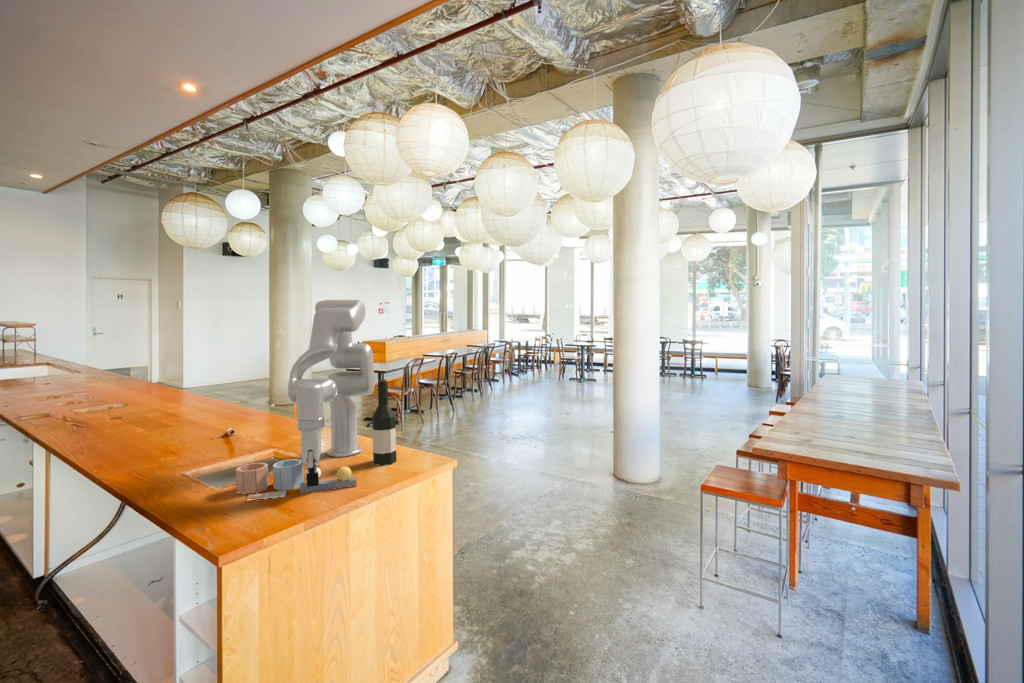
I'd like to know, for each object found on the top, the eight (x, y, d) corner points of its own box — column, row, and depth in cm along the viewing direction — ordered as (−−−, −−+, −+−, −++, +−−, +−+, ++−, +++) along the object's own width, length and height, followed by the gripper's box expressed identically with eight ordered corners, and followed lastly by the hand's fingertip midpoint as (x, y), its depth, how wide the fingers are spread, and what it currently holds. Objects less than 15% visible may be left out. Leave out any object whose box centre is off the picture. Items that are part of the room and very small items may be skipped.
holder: (301, 489, 142) (300, 483, 142) (356, 483, 147) (356, 476, 147) (300, 493, 139) (299, 486, 139) (356, 486, 144) (356, 479, 144)
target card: (249, 496, 137) (248, 493, 137) (286, 491, 140) (286, 489, 140) (245, 501, 133) (245, 499, 133) (284, 497, 136) (284, 494, 136)
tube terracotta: (240, 486, 145) (239, 464, 145) (270, 483, 148) (269, 461, 147) (234, 496, 137) (233, 472, 137) (265, 492, 140) (264, 469, 140)
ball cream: (306, 479, 143) (305, 465, 143) (321, 477, 145) (321, 463, 144) (304, 484, 139) (304, 470, 139) (320, 482, 141) (320, 468, 140)
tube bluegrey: (276, 482, 148) (275, 461, 148) (304, 479, 151) (303, 458, 151) (272, 491, 141) (271, 468, 140) (301, 488, 143) (301, 465, 143)
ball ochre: (337, 479, 146) (336, 465, 146) (351, 477, 147) (351, 464, 147) (336, 484, 142) (336, 469, 141) (351, 482, 143) (351, 468, 143)
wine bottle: (368, 462, 168) (366, 379, 167) (388, 457, 175) (386, 377, 173) (380, 467, 163) (378, 381, 161) (401, 461, 169) (399, 379, 167)
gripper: (300, 418, 148) (302, 475, 149) (294, 431, 132) (296, 494, 133) (325, 416, 150) (327, 472, 151) (322, 429, 134) (325, 491, 135)
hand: (313, 482), depth 142 cm, fingers closed on ball cream, 4 cm apart
